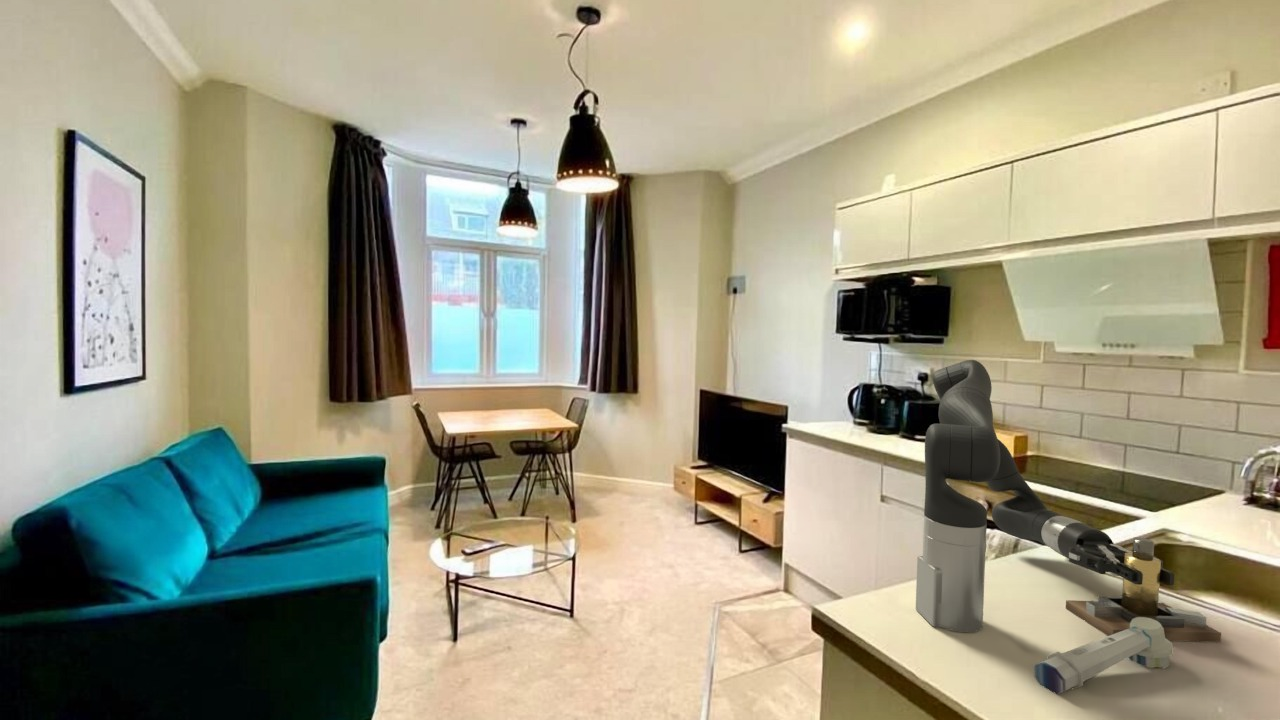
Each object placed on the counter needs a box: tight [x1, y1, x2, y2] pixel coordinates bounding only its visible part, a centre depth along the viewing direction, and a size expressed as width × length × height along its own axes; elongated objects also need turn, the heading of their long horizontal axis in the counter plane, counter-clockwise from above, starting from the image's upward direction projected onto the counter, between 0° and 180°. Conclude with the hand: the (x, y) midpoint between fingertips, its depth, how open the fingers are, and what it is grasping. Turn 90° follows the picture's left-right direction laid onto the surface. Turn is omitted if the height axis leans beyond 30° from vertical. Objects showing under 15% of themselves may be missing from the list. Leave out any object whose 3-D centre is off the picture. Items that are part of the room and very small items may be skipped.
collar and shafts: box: [1085, 595, 1207, 628], centre depth 93 cm, size 16×8×2 cm, turn 89°
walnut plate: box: [1065, 599, 1222, 643], centre depth 93 cm, size 17×10×2 cm, turn 89°
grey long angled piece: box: [1033, 617, 1174, 695], centre depth 79 cm, size 5×7×25 cm
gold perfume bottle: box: [1121, 536, 1161, 616], centre depth 92 cm, size 4×4×12 cm
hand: (1155, 579), depth 90 cm, fingers closed on gold perfume bottle, 4 cm apart
